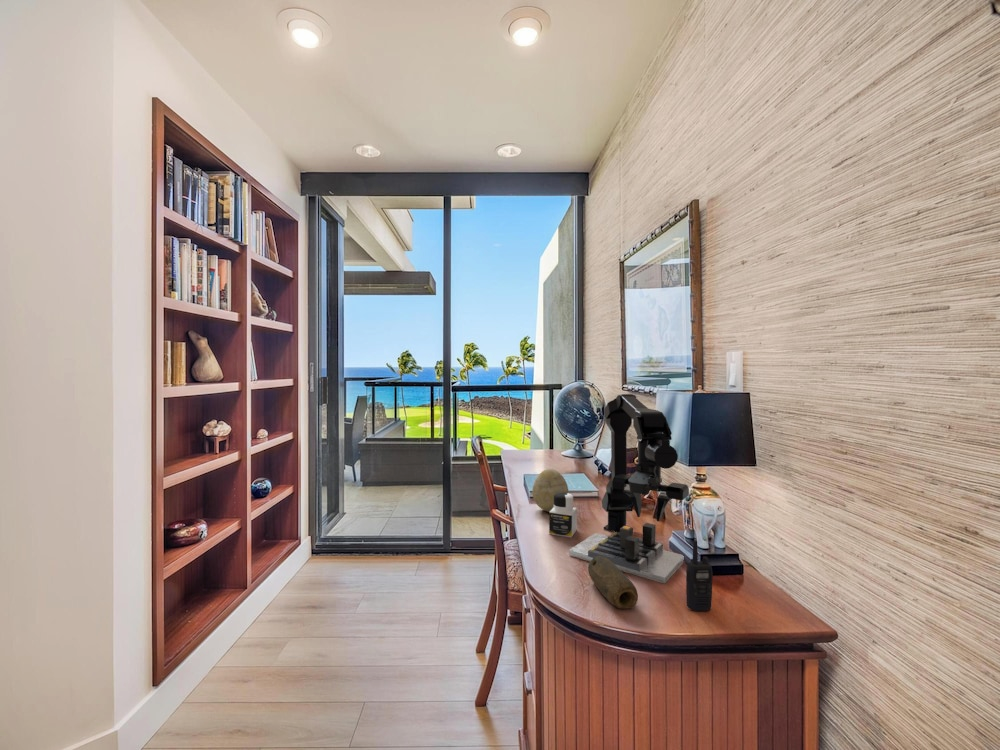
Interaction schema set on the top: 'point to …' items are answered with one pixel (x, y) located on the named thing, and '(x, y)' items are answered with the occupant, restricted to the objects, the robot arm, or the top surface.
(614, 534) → the breaker panel
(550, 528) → the medicine bottle
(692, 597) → the two-way radio
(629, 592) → the stone weight
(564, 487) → the fossilized egg
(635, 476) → the robot arm
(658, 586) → the top surface
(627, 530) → the block
